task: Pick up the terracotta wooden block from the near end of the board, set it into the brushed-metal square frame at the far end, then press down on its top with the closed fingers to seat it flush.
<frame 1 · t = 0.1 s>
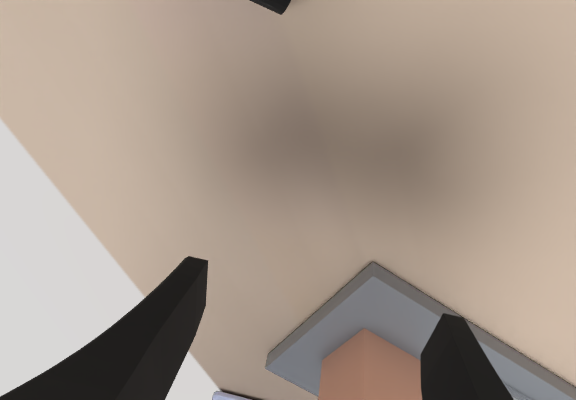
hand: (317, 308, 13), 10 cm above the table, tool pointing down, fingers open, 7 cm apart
block: (369, 360, 28), point 1 cm above the table, touching board
board: (430, 379, 30), on the table
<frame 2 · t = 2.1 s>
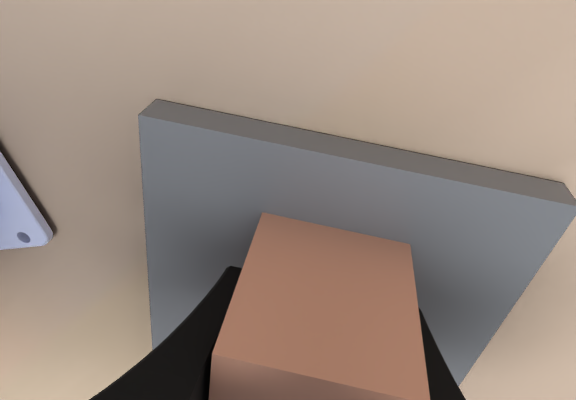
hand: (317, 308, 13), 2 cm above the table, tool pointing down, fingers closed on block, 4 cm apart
block: (321, 280, 14), point 1 cm above the table, touching board, gripper
board: (299, 348, 18), on the table
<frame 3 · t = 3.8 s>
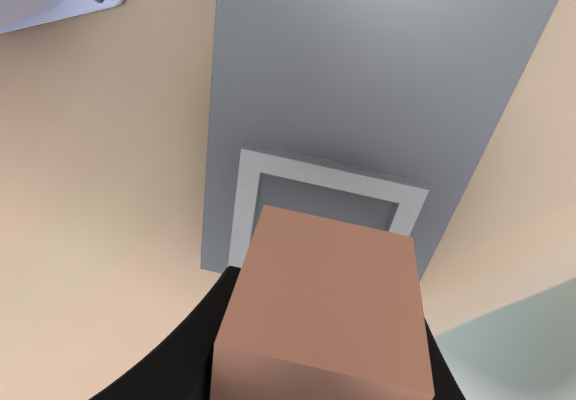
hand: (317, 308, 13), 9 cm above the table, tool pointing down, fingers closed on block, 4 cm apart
locating frame: (318, 217, 23), resting on board
block: (323, 274, 14), point 8 cm above the table, touching gripper
board: (342, 127, 20), on the table
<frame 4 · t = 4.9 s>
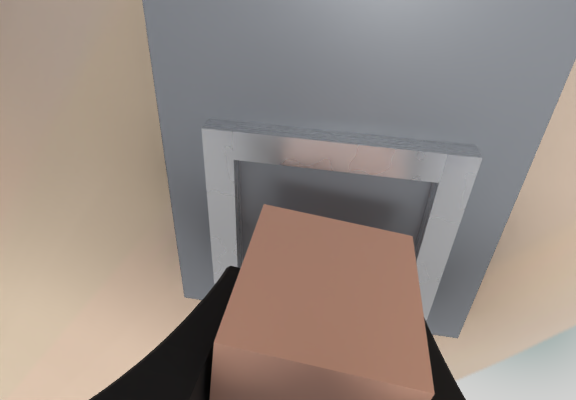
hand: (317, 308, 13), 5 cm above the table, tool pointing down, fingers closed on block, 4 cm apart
locating frame: (328, 216, 17), resting on board
block: (322, 273, 14), point 3 cm above the table, touching gripper
board: (344, 84, 14), on the table
when the fingers open (4 cm above the table, at t = 5.6 s): block drops 1 cm, resting on board.
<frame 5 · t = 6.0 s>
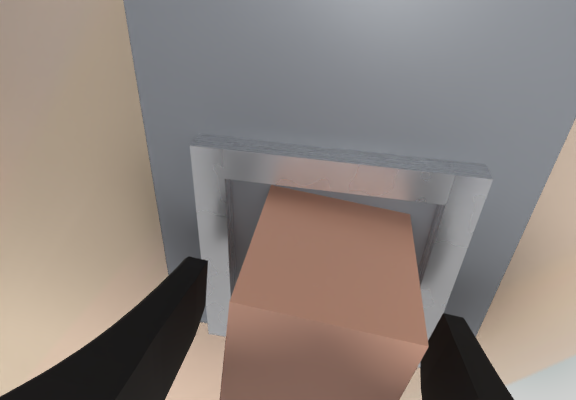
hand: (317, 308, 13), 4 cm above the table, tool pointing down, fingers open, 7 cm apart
locating frame: (327, 235, 16), resting on board
block: (326, 251, 15), point 1 cm above the table, touching board
board: (343, 97, 13), on the table
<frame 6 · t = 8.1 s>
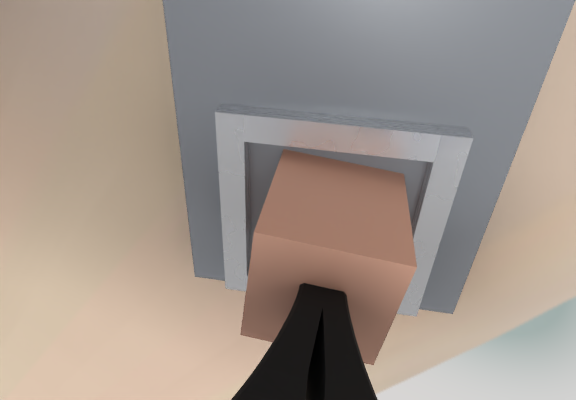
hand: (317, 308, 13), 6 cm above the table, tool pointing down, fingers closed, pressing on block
locating frame: (331, 198, 18), resting on board
block: (330, 209, 17), point 1 cm above the table, touching board, gripper
board: (346, 71, 15), on the table
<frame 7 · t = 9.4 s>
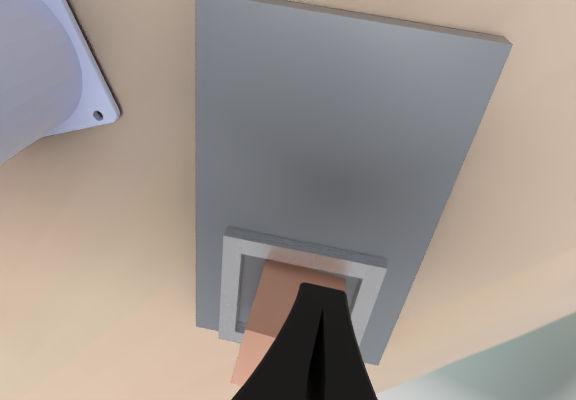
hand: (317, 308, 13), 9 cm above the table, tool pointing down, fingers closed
locating frame: (298, 282, 26), resting on board
block: (296, 294, 24), point 1 cm above the table, touching board
board: (312, 211, 22), on the table
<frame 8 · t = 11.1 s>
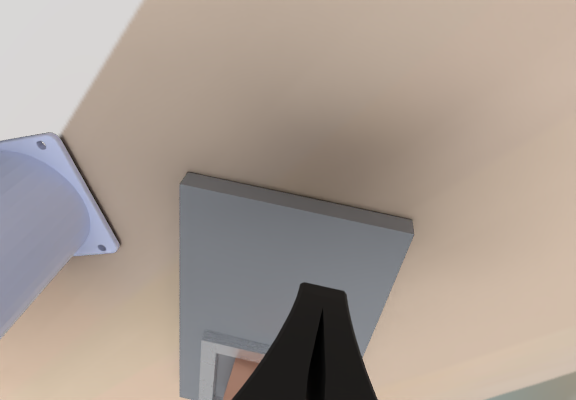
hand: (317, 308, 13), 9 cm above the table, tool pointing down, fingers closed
locating frame: (264, 366, 31), resting on board
block: (262, 379, 30), point 1 cm above the table, touching board
board: (274, 318, 28), on the table
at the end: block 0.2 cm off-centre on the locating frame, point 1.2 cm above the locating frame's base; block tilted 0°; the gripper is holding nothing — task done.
